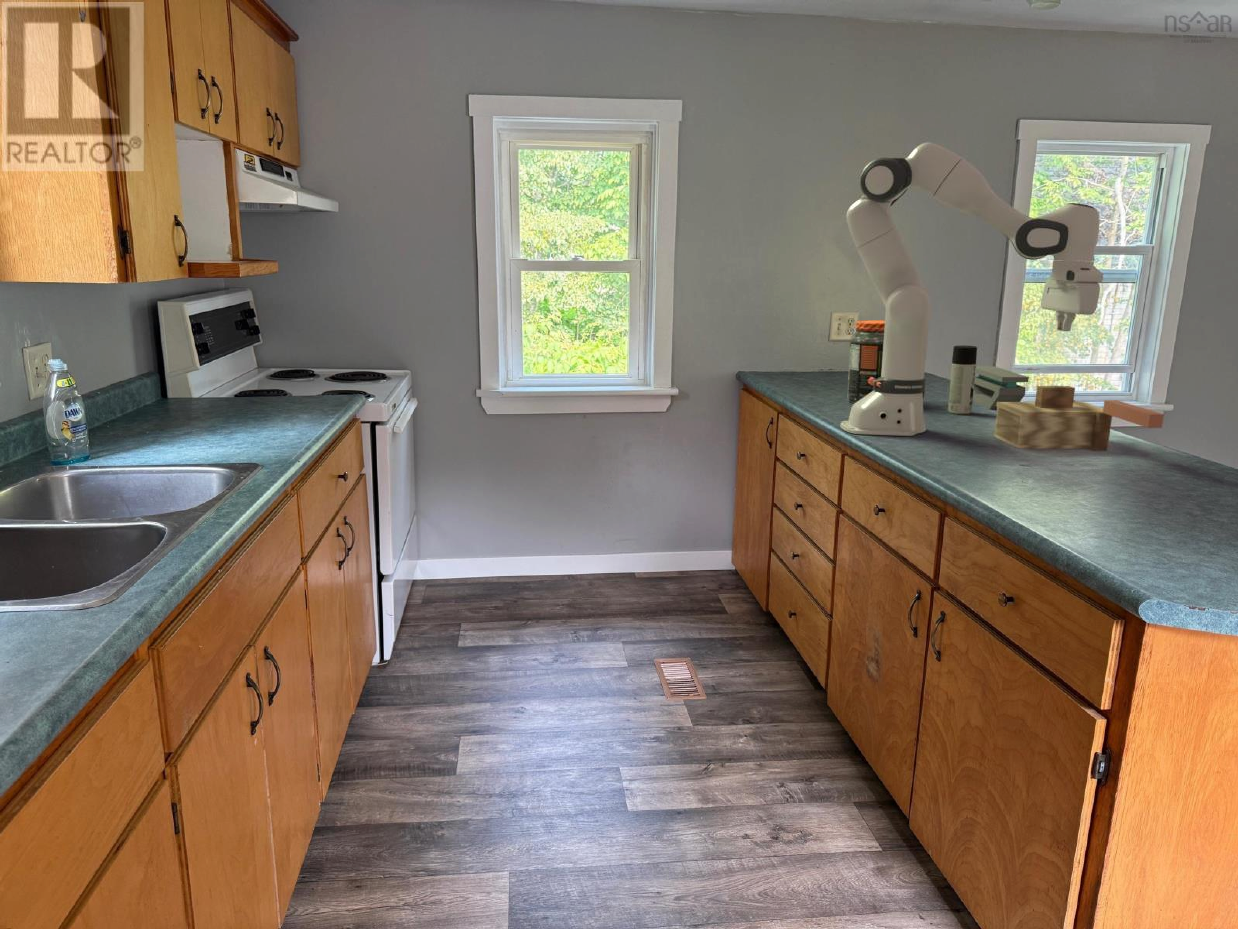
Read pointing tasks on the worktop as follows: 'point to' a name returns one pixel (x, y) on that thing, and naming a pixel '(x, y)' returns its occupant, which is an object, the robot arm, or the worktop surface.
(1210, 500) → the worktop surface
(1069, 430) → the toolbox
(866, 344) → the supplement tub
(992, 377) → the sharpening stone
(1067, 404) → the toolbox lid
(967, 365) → the spray can
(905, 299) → the robot arm
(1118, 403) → the bar
